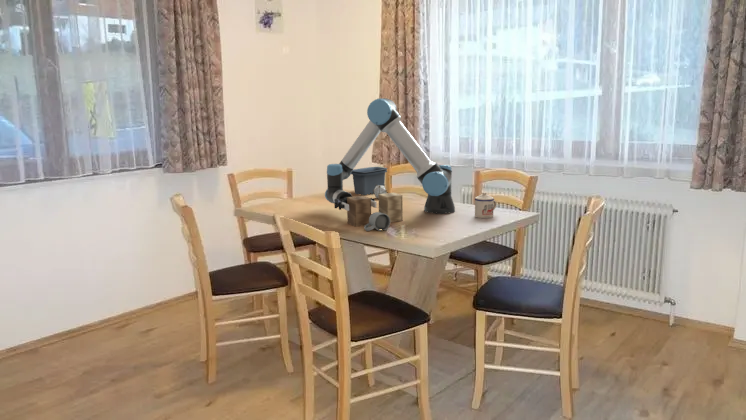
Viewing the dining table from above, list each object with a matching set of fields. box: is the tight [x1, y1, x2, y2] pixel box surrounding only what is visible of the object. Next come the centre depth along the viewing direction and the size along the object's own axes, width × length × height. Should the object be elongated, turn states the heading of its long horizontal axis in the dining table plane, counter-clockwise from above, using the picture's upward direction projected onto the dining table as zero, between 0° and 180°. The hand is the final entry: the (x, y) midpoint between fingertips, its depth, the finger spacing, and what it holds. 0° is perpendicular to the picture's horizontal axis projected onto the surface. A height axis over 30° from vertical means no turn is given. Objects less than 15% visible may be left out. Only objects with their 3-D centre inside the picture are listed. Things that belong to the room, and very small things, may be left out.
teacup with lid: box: [474, 191, 497, 219], centre depth 288 cm, size 12×9×12 cm
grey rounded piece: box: [372, 184, 389, 200], centre depth 338 cm, size 9×8×10 cm
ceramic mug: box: [363, 211, 391, 232], centre depth 264 cm, size 11×8×8 cm
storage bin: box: [351, 166, 388, 196], centre depth 358 cm, size 21×16×14 cm
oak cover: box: [378, 192, 404, 223], centre depth 282 cm, size 8×8×12 cm
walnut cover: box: [346, 195, 372, 227], centre depth 275 cm, size 8×8×12 cm
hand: (362, 206), depth 272 cm, fingers open, 13 cm apart
